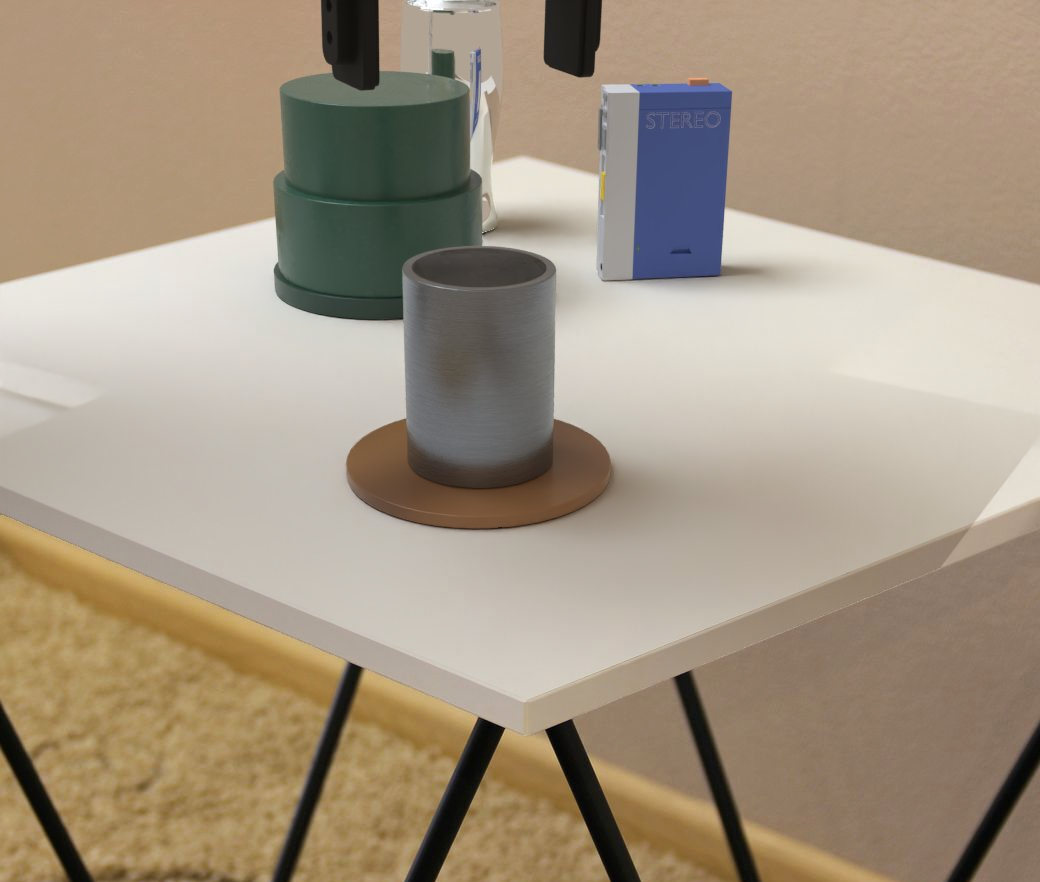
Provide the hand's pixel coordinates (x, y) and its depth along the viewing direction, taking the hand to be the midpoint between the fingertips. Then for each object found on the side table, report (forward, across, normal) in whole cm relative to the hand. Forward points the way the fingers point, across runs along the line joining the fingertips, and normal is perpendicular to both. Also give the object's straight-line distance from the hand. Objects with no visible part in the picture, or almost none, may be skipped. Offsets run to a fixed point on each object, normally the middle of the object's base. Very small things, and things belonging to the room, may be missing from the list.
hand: (465, 77), depth 62 cm
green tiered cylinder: (+18, -8, -27) cm, 33 cm away
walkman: (+18, -25, -22) cm, 37 cm away
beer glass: (+18, -18, -37) cm, 45 cm away
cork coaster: (+18, -1, 0) cm, 18 cm away
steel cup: (+17, -1, 0) cm, 17 cm away
